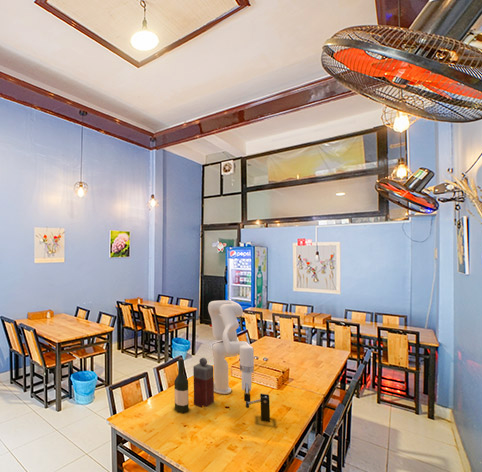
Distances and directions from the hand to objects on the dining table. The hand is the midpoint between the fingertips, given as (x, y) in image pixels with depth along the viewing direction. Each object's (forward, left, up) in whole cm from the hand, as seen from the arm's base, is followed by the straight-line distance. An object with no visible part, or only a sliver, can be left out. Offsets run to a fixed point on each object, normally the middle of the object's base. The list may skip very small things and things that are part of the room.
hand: (247, 400), depth 176 cm
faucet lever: (+5, 0, -1) cm, 5 cm away
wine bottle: (-37, -3, -10) cm, 38 cm away
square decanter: (-25, +9, -10) cm, 28 cm away
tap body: (+9, 0, -10) cm, 13 cm away
